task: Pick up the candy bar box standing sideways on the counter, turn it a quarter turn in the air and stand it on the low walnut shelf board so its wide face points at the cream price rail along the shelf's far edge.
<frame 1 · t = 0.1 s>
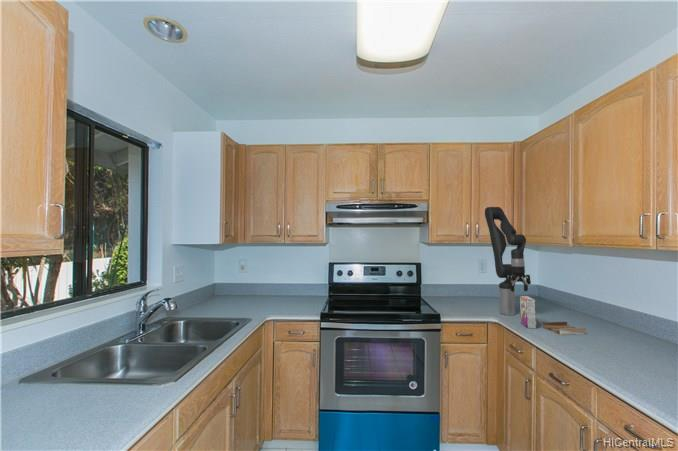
hand: (519, 291, 205), 17 cm above the table, tool pointing down, fingers open, 8 cm apart
candy bar box: (528, 326, 189), on the table
shelf: (563, 330, 178), on the table
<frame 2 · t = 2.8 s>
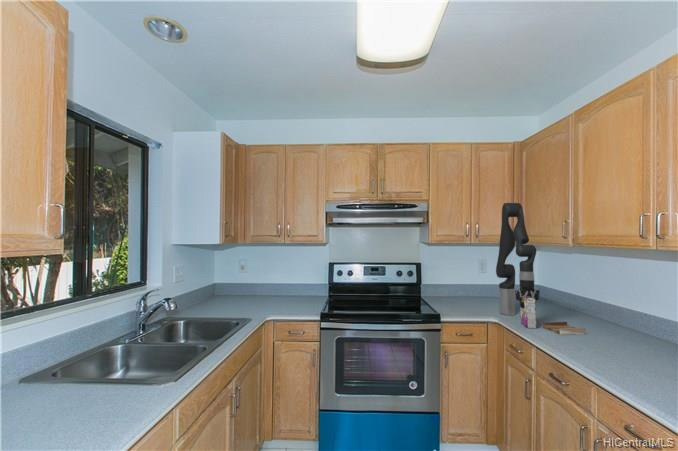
hand: (527, 307, 189), 11 cm above the table, tool pointing down, fingers closed on candy bar box, 5 cm apart
candy bar box: (528, 326, 189), on the table, touching gripper
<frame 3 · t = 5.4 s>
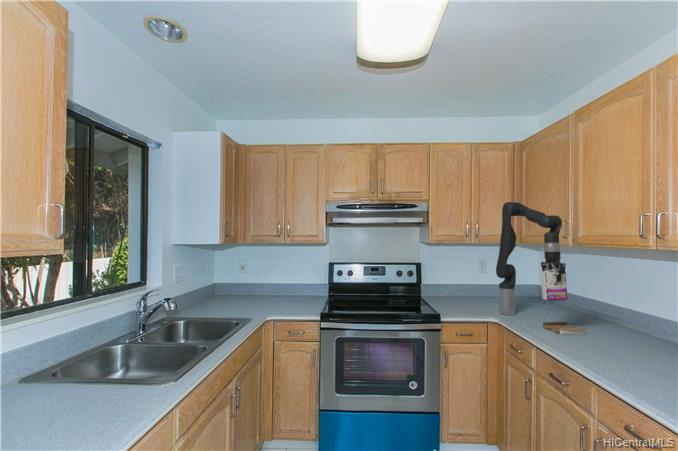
hand: (553, 280, 181), 27 cm above the table, tool pointing down, fingers closed on candy bar box, 5 cm apart
candy bar box: (554, 300, 180), point 17 cm above the table, touching gripper
when the fingers open (13 cm above the table, at t = 7.9 s): candy bar box stays where it is, resting on shelf.
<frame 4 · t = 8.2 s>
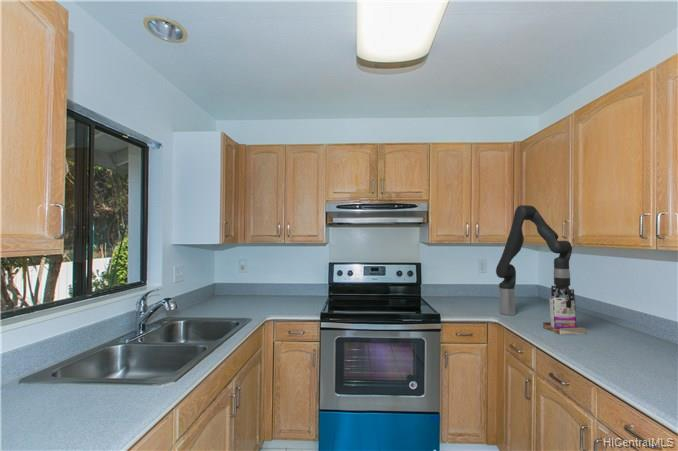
hand: (562, 306, 179), 13 cm above the table, tool pointing down, fingers open, 8 cm apart
candy bar box: (563, 328, 179), point 1 cm above the table, touching shelf
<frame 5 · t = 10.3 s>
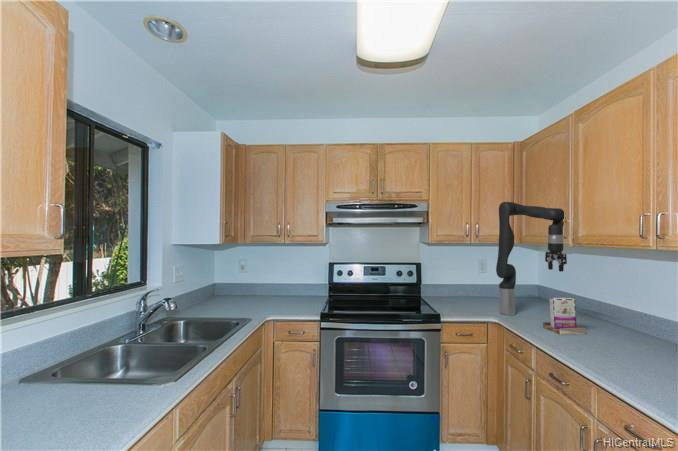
hand: (555, 270, 188), 32 cm above the table, tool pointing down, fingers open, 8 cm apart
nothing on the table moved.
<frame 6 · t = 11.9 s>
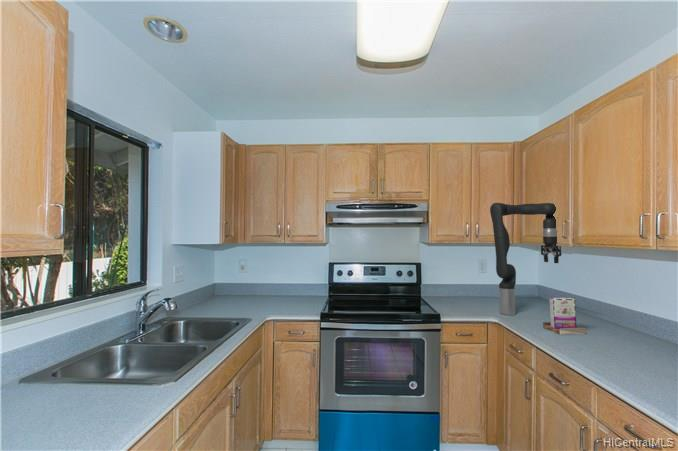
hand: (551, 262, 196), 36 cm above the table, tool pointing down, fingers open, 8 cm apart
nothing on the table moved.
at the end: candy bar box inside the target area (0.3 cm from its centre), point 1.3 cm above the table; candy bar box tilted 0°; the gripper is holding nothing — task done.
